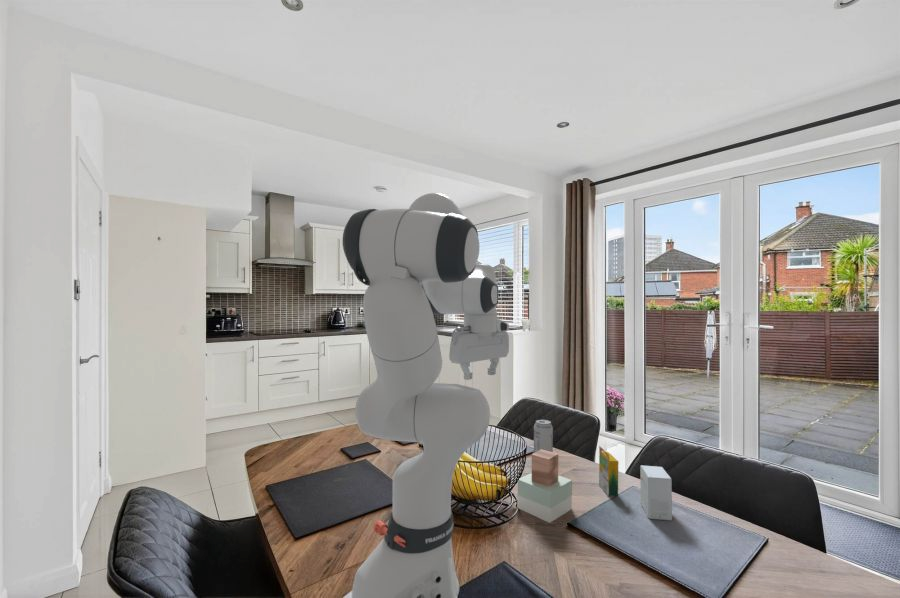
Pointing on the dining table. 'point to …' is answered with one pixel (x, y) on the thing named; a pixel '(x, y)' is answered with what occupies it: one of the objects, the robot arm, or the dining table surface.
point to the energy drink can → (543, 436)
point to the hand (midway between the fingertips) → (480, 377)
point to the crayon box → (608, 473)
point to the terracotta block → (545, 467)
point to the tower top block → (545, 491)
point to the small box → (656, 492)
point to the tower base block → (544, 508)
